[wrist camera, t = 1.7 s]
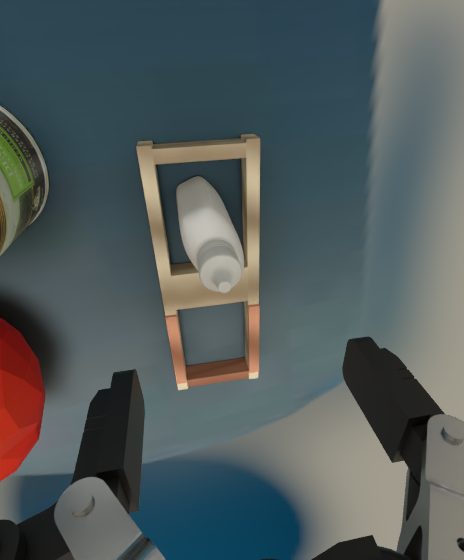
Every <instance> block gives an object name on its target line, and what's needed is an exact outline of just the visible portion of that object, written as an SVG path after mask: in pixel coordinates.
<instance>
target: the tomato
mask: <svg viewBox="0 0 464 560" xmlns="http://www.w3.org/2000/svg"><path fill="white" fill-rule="evenodd" d="M44 402H45V390H44V385H43V380H42V375H41V370H40V365H39V360H38V359H37V357H36V356H35V354H34V353H33V351H32V349H31V348H30V346H29V345H28V343H27V342H26V340H25V339H24V337H23V336H22V334H21V333H20V332H19V331H18V330H17V329H15V328H14V327H13V326H11V325H10V324H9V323H8V322H6V321H5V320H4V319H2V318H0V481H2V480H3V479H5V478H6V477H8V476H9V475H11V474H12V473H14V472H15V471H17V469H18V468H19V466H20V465H21V464H22V462H23V461H24V459H25V458H26V456H27V455H28V454H29V452H30V451H31V449H32V448H33V446H34V445H35V443H36V442H37V441H38V439H39V435H40V429H41V422H42V416H43V409H44Z"/></svg>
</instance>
